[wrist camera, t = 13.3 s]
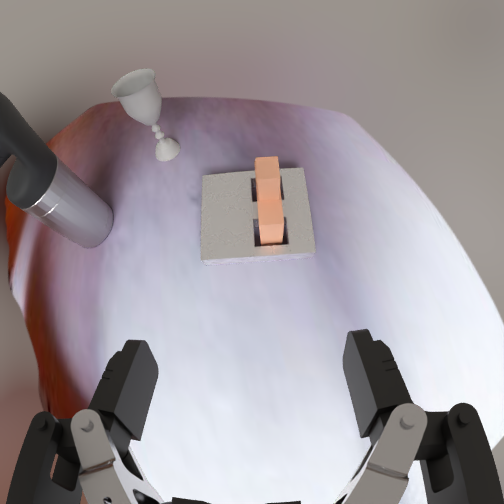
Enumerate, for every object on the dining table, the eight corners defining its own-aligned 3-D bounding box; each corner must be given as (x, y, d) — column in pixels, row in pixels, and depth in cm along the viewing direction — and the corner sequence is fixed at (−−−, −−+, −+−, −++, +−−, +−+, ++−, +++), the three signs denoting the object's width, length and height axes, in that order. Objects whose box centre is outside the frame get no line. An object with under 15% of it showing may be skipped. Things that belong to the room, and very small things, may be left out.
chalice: (145, 165, 48) (103, 100, 31) (156, 138, 50) (122, 72, 33) (180, 165, 47) (145, 93, 30) (189, 137, 49) (162, 65, 32)
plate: (205, 265, 41) (200, 260, 38) (206, 185, 46) (202, 175, 43) (312, 258, 40) (315, 252, 38) (301, 177, 45) (303, 167, 42)
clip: (261, 248, 41) (256, 206, 28) (257, 193, 44) (251, 136, 31) (281, 247, 41) (285, 204, 28) (276, 191, 44) (276, 135, 31)
